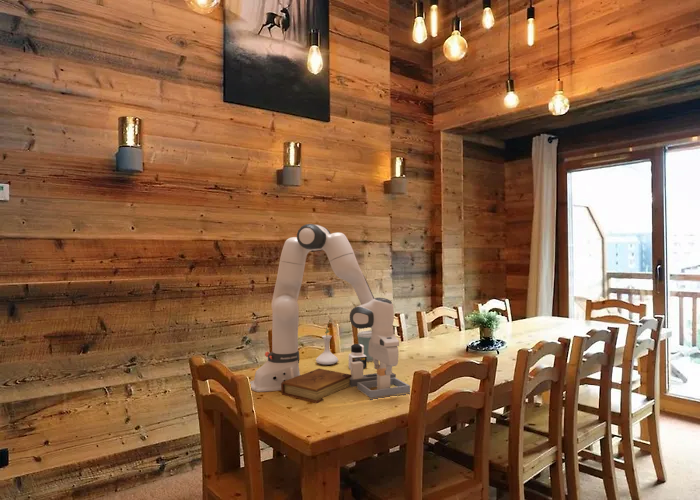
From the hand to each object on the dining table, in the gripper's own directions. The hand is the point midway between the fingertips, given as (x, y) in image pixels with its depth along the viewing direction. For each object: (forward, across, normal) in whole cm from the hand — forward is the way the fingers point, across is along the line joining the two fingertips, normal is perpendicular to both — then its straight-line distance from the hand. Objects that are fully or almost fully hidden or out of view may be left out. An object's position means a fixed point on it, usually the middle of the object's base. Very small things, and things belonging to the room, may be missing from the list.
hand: (382, 371), depth 198 cm
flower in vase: (+9, -54, -4) cm, 54 cm away
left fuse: (+8, -13, -5) cm, 16 cm away
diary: (+9, -13, -23) cm, 28 cm away
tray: (+9, 0, +1) cm, 9 cm away
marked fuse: (+8, 0, +1) cm, 8 cm away
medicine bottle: (+9, -36, +5) cm, 38 cm away
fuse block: (+9, -13, +2) cm, 16 cm away
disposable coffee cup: (+9, -51, +17) cm, 54 cm away
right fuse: (+8, -13, +8) cm, 17 cm away
